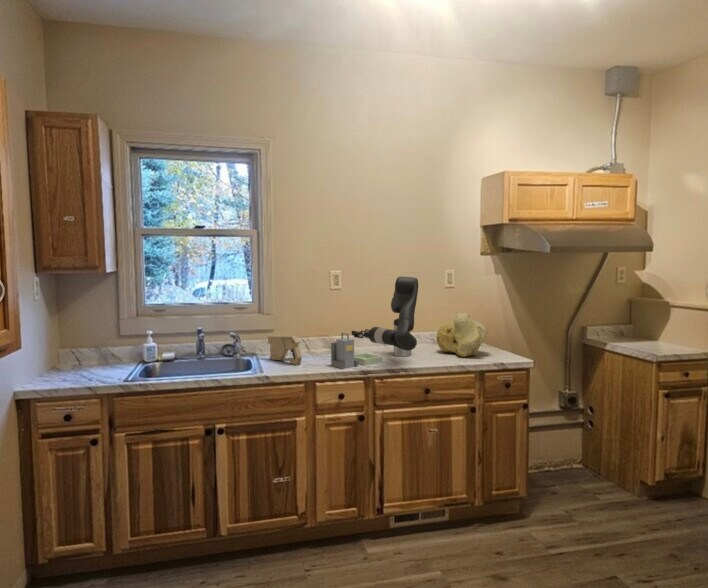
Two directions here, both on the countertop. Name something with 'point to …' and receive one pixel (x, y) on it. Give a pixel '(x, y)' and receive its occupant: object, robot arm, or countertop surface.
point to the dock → (334, 359)
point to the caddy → (345, 351)
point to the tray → (367, 358)
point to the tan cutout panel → (284, 348)
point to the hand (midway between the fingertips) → (358, 332)
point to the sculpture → (461, 335)
